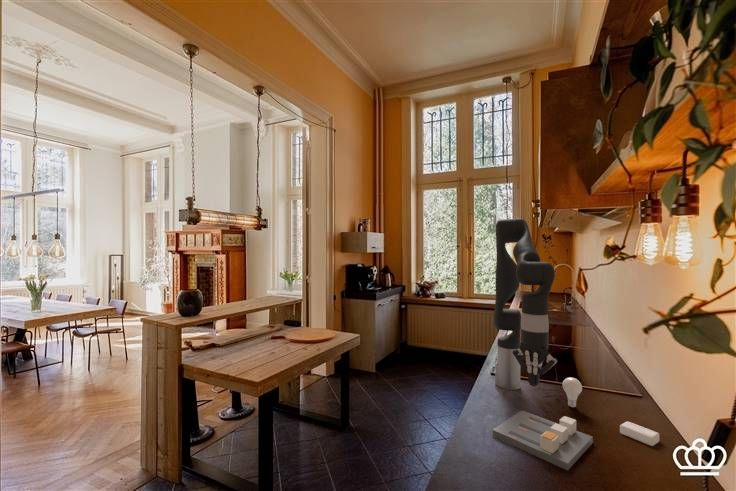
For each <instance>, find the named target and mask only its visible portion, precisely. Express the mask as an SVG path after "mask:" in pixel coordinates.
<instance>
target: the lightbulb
mask: <svg viewBox="0 0 736 491" xmlns="http://www.w3.org/2000/svg"><path fill="white" fill-rule="evenodd" d="M562 388H563V390H564V392H565V394H566V397H567V406H569V407H571V408H575V407H577V400H578V397H579V395H580V394H581V392H582V391H583V386H582V383H581V382H580V381H579V380H578V379H577V378H575V377H570V376H569V377H566V378H565V379H564V380H563V381H562Z"/></svg>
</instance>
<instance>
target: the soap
mask: <svg viewBox="0 0 736 491" xmlns="http://www.w3.org/2000/svg"><path fill="white" fill-rule="evenodd" d="M619 433H620V434H622V435H624V436H626V437H629V438H631V439H633V440H636V441H639V442H641V443H644V444H645V445H648V446H651V447H654V446H655V445H657V444H658V443H659V442H660V433H659V432H657V431H655V430H652V429H650V428H646V427H644V426H643V425H642V426H641V425H640V424H639V425H638V424H636V423H633V422H632V421H631V422H630V421H625V422H623V423H621V424H620V425H619Z"/></svg>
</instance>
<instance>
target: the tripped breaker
mask: <svg viewBox="0 0 736 491" xmlns="http://www.w3.org/2000/svg"><path fill="white" fill-rule="evenodd" d="M540 448H541V449H544V450H546V451H548V452H550V453H554V452H555V451H556V450H557V449H558V448H559V436H557V434H555V433H552V432H550V431H546V432H544V433H543V434H542V435H541V436H540Z"/></svg>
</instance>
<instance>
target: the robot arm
mask: <svg viewBox="0 0 736 491" xmlns="http://www.w3.org/2000/svg"><path fill="white" fill-rule="evenodd" d="M530 231H531V230H530V229H529V224H528V223H527V221H526V220H525V219H524V218H519V217H518V218H517V217H516V218H503V219H498V220H497V222H496V225H495V244H496V246H495V247H496V261H495V262H496V265H495V304H494V312H493V324H494V327H495V329H497V330H499V331H508V332H511V333H509V334H507V335H504V336H499V337H498V338H497V341H496V342H497V346H496V347H497V351H496V352H497V353H496V356H497V357H496V362H495V363H494V364H495V365H494V366H495V367H494V368H495V369H494V381H495V382H494V384H495V385H496V386H498V387H499V388H502V389H503V390H509V391H516V390H517V391H518V390H519V389H521V368H522V370H525V371H527V373H528V374H527V377H528V378H527V380H528V383H529V386H532V387H537V386H538V385H540V383H541V375H544V374H546V373H547V372H548V371H549V370H551V369H552V367H554V366H555V365H556V364H557V363H558V361H559V360H558V359H557V358H554V357H553V356H552V355H551V352H550V349H549V332H550V331H549V330H550V325H549V323H550V322H549V315H548V313H549V312H548V311H549V304H548V303H549V297H550V293H551V290H552V287H553V283H554V281H555V277H556V270H555V268H554V266H553V264H552V263H550V262H547V261H541V258H540V255H539V253H538V251H537V249H536V247H535V246H534V243H533V239H532V236H531V232H530ZM514 243H515V245H514V247H513V250H512V255H513V258H512V256H511V255H510V254H509V252H508V250H507V248H506V244H514ZM514 260H515V261H514ZM521 285H525V286H538V288H537V289H536V290H535V291H532V292H531V291H530V292H525V293H524V294H522V296H521V311H520V310H519V309H514V308H505V306H506V304H507V303H508V301H509V300H510V299H511V298H512V297H513V296H514V295H515V293H516V292H517V291H518V290H519V288H520V286H521ZM545 360H546V364H545V365H544V366H543V362H544V361H545ZM542 366H543V367H542Z"/></svg>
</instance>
